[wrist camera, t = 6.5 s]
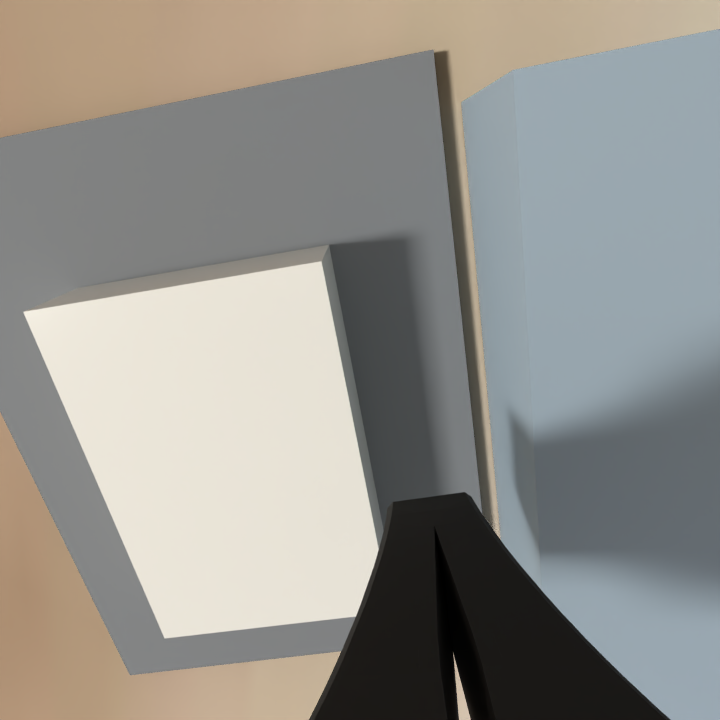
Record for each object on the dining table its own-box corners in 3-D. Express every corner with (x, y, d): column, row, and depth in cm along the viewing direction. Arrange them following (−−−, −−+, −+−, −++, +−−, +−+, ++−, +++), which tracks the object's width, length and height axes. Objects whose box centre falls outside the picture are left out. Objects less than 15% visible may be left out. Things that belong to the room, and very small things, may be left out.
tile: (164, 638, 13) (189, 579, 15) (391, 612, 13) (388, 554, 15) (23, 311, 10) (77, 287, 12) (321, 261, 9) (328, 244, 11)
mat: (492, 625, 16) (495, 633, 16) (134, 666, 17) (130, 675, 17) (431, 52, 10) (433, 49, 10) (-111, 162, 11) (-123, 163, 11)
